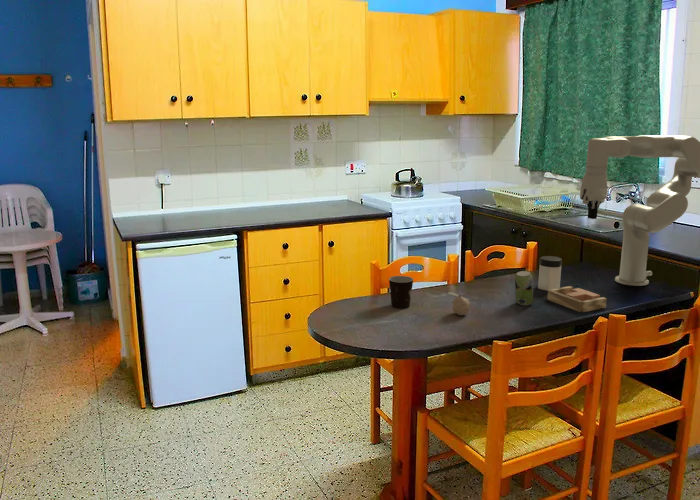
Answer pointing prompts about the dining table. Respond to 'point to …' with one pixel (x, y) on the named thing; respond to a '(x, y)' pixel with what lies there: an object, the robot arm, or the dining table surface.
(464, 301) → the garlic bulb
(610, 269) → the dining table surface
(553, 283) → the jar
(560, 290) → the dock
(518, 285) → the beverage can
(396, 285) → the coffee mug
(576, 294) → the t block
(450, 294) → the butter knife
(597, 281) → the dining table surface
